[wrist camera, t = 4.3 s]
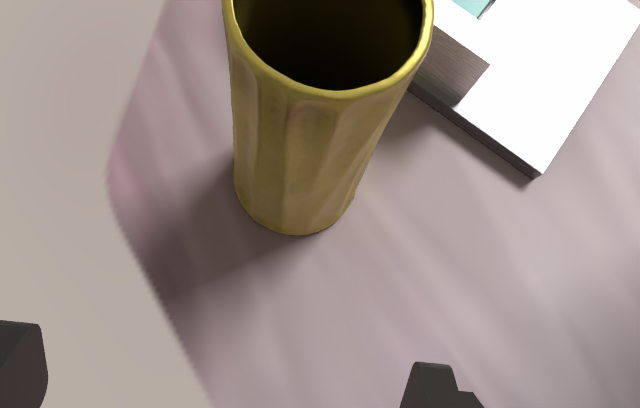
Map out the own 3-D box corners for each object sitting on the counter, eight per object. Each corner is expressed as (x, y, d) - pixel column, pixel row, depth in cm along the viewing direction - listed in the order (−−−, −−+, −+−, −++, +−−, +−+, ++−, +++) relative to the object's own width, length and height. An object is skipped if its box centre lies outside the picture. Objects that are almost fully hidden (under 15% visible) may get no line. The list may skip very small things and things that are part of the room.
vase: (342, 249, 26) (432, 147, 12) (218, 219, 26) (167, 79, 12) (366, 135, 27) (471, -69, 14) (251, 106, 27) (239, -133, 13)
